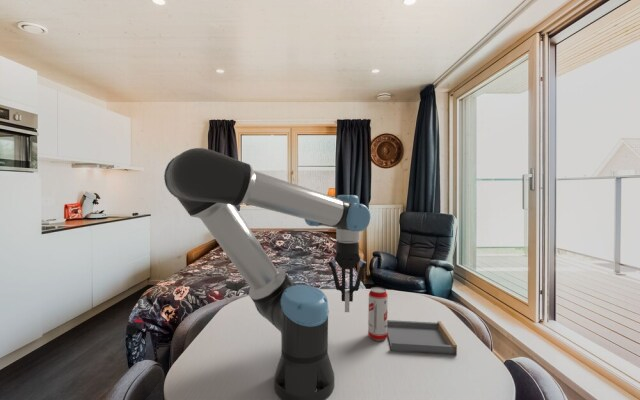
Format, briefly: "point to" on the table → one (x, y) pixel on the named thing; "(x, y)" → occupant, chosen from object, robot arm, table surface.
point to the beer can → (377, 313)
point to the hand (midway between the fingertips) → (347, 310)
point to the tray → (420, 337)
